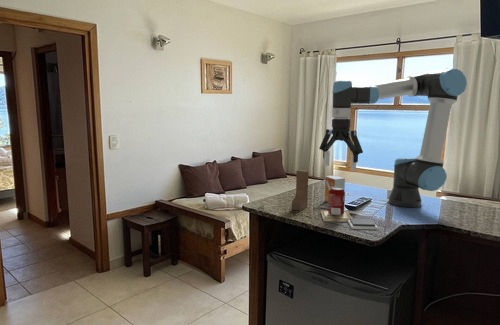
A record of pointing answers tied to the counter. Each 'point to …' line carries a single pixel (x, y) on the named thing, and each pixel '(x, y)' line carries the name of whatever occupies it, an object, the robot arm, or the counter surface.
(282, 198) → the counter surface
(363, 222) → the pad
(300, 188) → the wooden block
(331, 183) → the small box
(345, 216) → the board
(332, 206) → the soda can
